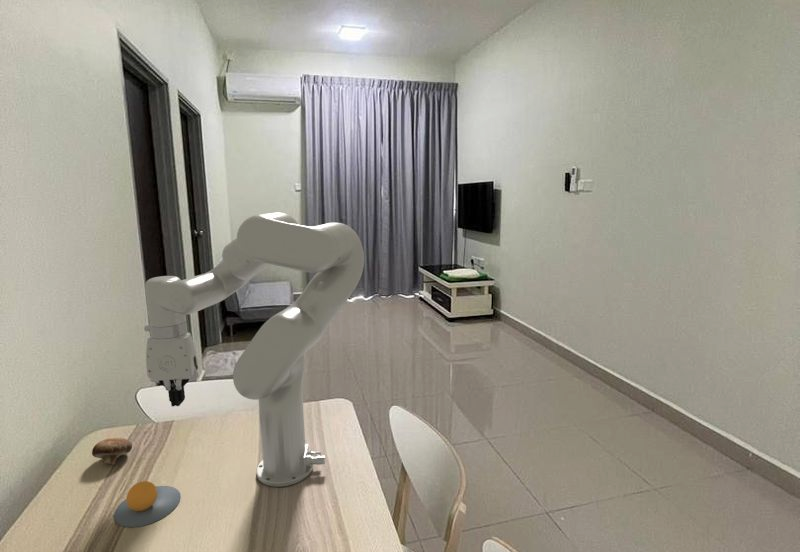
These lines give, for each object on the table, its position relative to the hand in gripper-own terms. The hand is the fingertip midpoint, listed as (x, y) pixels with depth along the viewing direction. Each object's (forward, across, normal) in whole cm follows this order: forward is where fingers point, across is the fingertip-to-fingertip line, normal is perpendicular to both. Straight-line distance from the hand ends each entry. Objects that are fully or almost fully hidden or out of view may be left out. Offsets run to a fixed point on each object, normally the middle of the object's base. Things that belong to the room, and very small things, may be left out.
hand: (177, 403), depth 109 cm
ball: (+11, -1, -19) cm, 21 cm away
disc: (+13, 0, -18) cm, 22 cm away
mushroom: (+14, -16, -1) cm, 21 cm away
